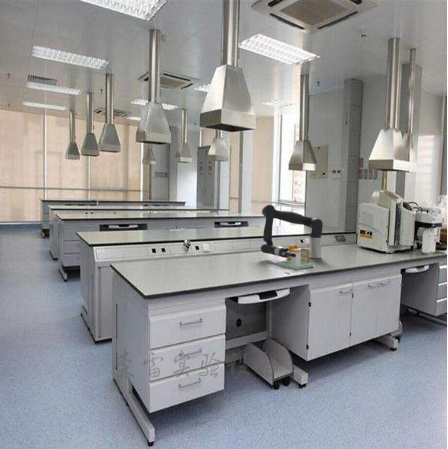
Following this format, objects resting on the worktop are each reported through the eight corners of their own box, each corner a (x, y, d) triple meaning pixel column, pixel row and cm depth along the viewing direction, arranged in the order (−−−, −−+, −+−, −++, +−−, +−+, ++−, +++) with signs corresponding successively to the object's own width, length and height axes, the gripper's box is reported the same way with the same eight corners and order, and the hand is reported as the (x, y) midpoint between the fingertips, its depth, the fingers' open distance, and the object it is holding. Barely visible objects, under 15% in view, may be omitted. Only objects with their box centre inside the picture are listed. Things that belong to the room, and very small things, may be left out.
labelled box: (295, 264, 277) (295, 248, 276) (300, 265, 273) (301, 249, 272) (290, 265, 274) (291, 249, 273) (295, 266, 270) (296, 250, 269)
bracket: (291, 260, 296) (291, 246, 295) (285, 259, 302) (286, 244, 301) (301, 259, 301) (302, 245, 299) (296, 258, 307) (296, 244, 306)
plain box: (304, 263, 288) (305, 247, 286) (309, 264, 284) (310, 248, 282) (300, 263, 285) (300, 248, 284) (305, 264, 281) (305, 249, 280)
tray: (294, 263, 286) (294, 259, 286) (312, 267, 272) (313, 263, 271) (278, 265, 275) (278, 261, 275) (296, 270, 261) (296, 266, 261)
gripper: (275, 247, 279) (291, 251, 266) (288, 246, 288) (305, 249, 274) (274, 257, 280) (291, 261, 267) (288, 255, 289) (304, 259, 275)
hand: (298, 255), depth 271 cm, fingers open, 5 cm apart
